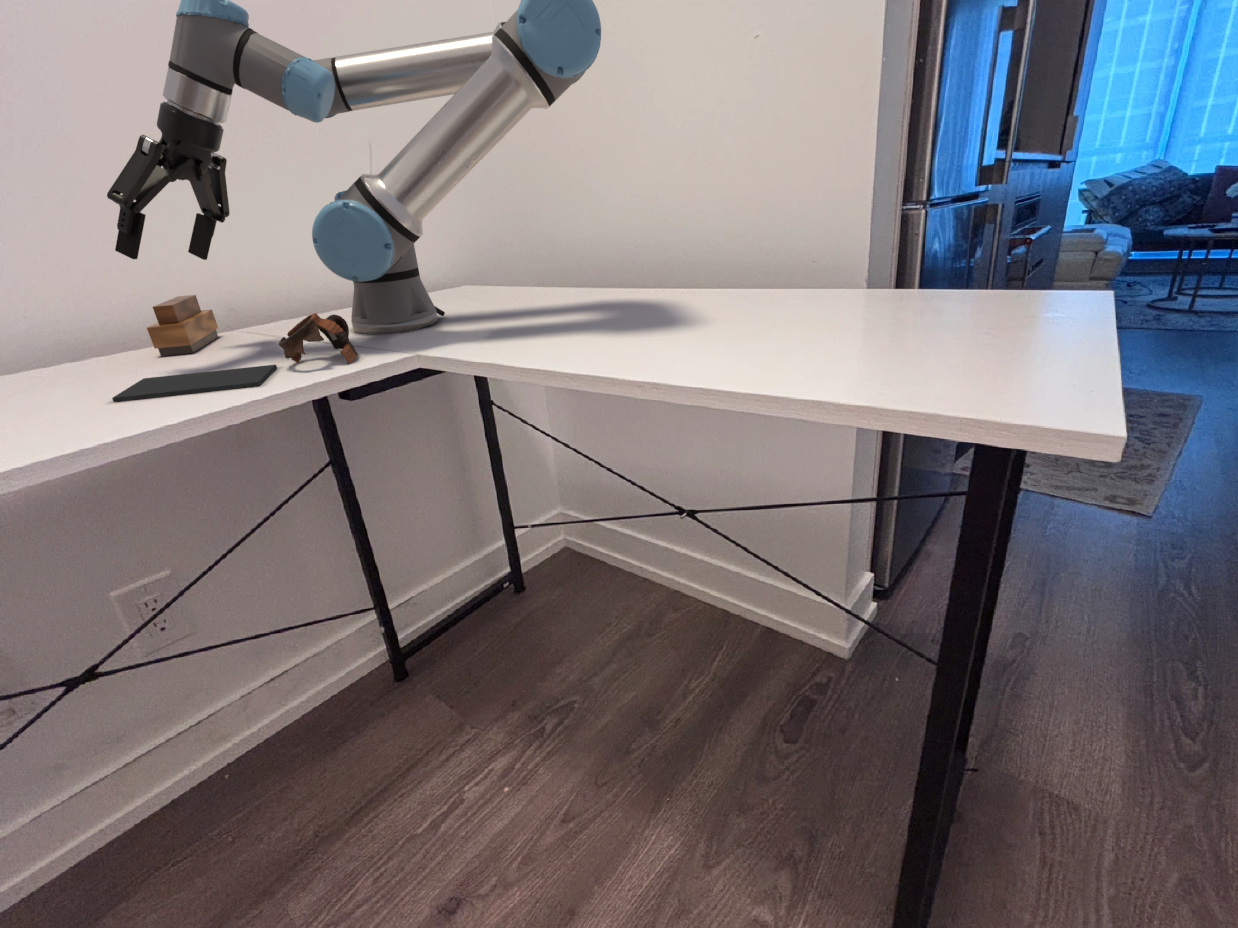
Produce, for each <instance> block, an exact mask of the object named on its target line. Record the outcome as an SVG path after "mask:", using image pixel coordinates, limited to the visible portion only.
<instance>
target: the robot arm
mask: <svg viewBox="0 0 1238 928" xmlns="http://www.w3.org/2000/svg"><path fill="white" fill-rule="evenodd" d="M597 8H598V7H596V4H595V3H594V0H520V3H519V5H518V8H517V9H516V11H515V12H514V13H513V14H512V15H511V16H510V17H509V18H508V19H507V20H506V21H502V22H498V23H497V24H496V26H495V28H494V30H493V31H488V32H483V33H476V34H469V35H464V36H457V37H451V38H445V39H439V40H432V41H426V42H419V43H414V44H408V45H400V46H394V47H389V48H382V49H374V50H370V51H363V52H358V53H351V54H345V55H337V56H334V57H325V58H320V59H319V58H318V59H311V58H309V57H307V56H304V55H302V54H300V53H298V52H296V51H295V50H292V49H290V48H288V47H287V46H285V45H282V44H280V43H278V42H277V41H275V40H272V39H270V38H269V37H267V36H264V35H262V34H260V33H259V32H257V31H255V30H254V29H253V28H252V27H250V24H249V20H250V19H249V18H250V16H249V12H248V11H247V9H245V8H244V7H242V6H240V5H239V4H237V3H235V2H233V1H232V0H180V1H179V5H178V10H177V11H176V12H175V17H176V18H175V25H174V30H173V38H172V43H171V49H170V55H169V61H168V65H167V66H168V68H167V72H166V76H165V83H164V87H163V92H162V96H163V98H164V99H166V100H167V101H162V102H160V104H159V109H158V115H157V121H156V127H157V129H158V130H160V132H161V137H160V139H159V140H158V141H157V140H155V139H154V138H151V137H149V136H147V135H145V134H141V135H139V138H138V139H137V144H136V147H135V150H134V152H133V153H132V155H131V156H130V158H129V160H128V161H127V162H126V164H125V166H124V167H123V168H122V170H121V172H120V173H119V175H118V176H117V178H116V179H115V181H114V182H113V184H112V186H110V188H109V190H108V191H107V193H106V197H107V199H109V200H110V201H112V202H113V203H115V204H117V205H118V206H119V213H118V219H117V223H116V227H117V230H118V231H117V237H116V244H115V249H114V251H115V252H117V253H119V254H121V255H122V256H126V257H128V258H129V259H131V260H138V257H139V252H140V248H141V247H140V246H141V242H142V237H143V233H144V228H145V227H144V226H145V221H146V214H145V213H143V212H142V211H143V210H144V209H145V208H146V207H147V206H148V205H149V204H150V203H151V202H152V201H153V200H154V199H155V198H156V197H157V195H159V193H160V192H162V191H163V189H164V188H165V187H166V186H167V185H169V183H174V182H177V180H179V181H186V180H187V181H188V182H189V183H190V186H191V189H192V191H193V194H194V197H195V198H196V201H197V204H198V206H199V209H200V211H201V213H199V212H196V215H195V218H194V223H193V229H192V231H191V237H190V241H189V246H188V250H187V253H189V254H191V255H193V256H194V257H197V258H198V259H201V260H202V261H207V260H208V256H209V252H210V247H211V245H212V244H211V243H212V239H213V237H214V235H215V231H216V226H217V223H218V222H219V223H225V222H226V218H228V217H229V216H230V204H229V196H228V187H227V186H228V185H227V177H226V168H227V162H228V161H227V158H226V157H224V156H222V155H220V154H218V153H217V152H219V151H220V148H221V145H222V140H223V135H224V131H225V130H224V128H223V126H222V125H221V124H225V123H227V120H228V115H229V110H230V105H231V100H232V96H233V92H234V91H233V90H234V86H235V85H237V87H239V88H241V89H242V90H243V89H244V90H247V91H249V92H251V93H253V94H255V95H257V96H258V97H260V98H262V99H264V100H265V101H268V102H270V103H272V104H274V105H276V106H278V107H280V108H282V109H284V110H286V111H287V112H290V114H292V115H294V116H297V117H300V118H303V119H305V120H308V121H310V122H313V123H321V122H323V121H324V119H330V118H333V117H335V116H337V115H338V114H344V113H350V112H355V111H359V110H366V109H372V108H378V107H384V106H390V105H397V104H402V103H410V102H416V101H422V100H427V99H434V98H435V99H436V98H440V97H447V96H451V97H450V99H448V100H447V101H446V103H444V105H443V106H442V107H440V108H439V110H438V111H437V112H436V113H435V114H434V115H433V116H432V117H431V118H430V119H429V120H428V121H427V122H426V123H425V124H424V126H423V127H422V128H421V129H420V130H419V131H418V132H417V133H416V134H415V135H414V136H413V137H412V138H411V139H410V140H409V141H408V142H407V143H406V145H404V147H402V149H401V150H400V151H399V152H397V154H396V155H395V156H394V157H393V158H392V159H391V160H390V162H389V163H387V165H385V166H384V168H383V169H382V170H381V171H380V172H379V173H377V174H373V173H372V174H370V173H369V174H368V173H367V174H366V173H362V174H360V176H359V177H358V178H357V179H356V181H354V182H353V183H352V184H351V185H350V186H349V187H348V188H347V189H346V190H343V191H339V192H337V193H335V195H334V201H331V202H329V203H328V204H325V205H324V206H323V207H322V208H321V209H320V211H319V212H318V213H317V214H316V216H315V219H314V221H313V224H312V228H311V238H312V244H313V247H314V250H315V252H316V255H317V256H318V258H319V259H320V261H321V263H322V264H323V265H324V266H325V267H326V268H327V269H328V270H329V271H330V272H332V273H333V274H334V275H336V276H338V277H339V278H342V279H344V280H347V281H351V282H353V283H352V284H353V295H352V296H353V297H352V306H351V318H350V321H351V325H352V329H353V331H354V332H356V333H358V334H365V335H383V334H385V335H386V334H395V333H402V332H409V331H414V330H418V329H419V330H420V329H422V328H427V327H428V326H431V325H434V324H436V323H437V322H438V321H439V317H438V315H439V316H441V317H444V316H445V314H446V311H444V310H442V309H440V308H439V307H438V306H436V305H435V304H434V303H433V301H432V298H431V296H430V295H429V293H428V291H427V289H426V288H425V286H424V283H423V282H422V279H421V275H420V270H419V264H418V258H417V254H416V248H415V247H416V246H415V243H416V242H417V241H418V240H419V239H420V238H421V237H422V236H423V234H424V233H423V221H424V219H425V218H426V217H427V216H428V215H429V214H430V213H431V212H432V211H433V210H434V209H435V208H436V207H437V206H438V204H440V203H441V202H442V200H444V199H445V198H446V197H447V196H448V194H449V193H451V192H452V190H453V189H455V188H456V186H458V184H459V183H460V182H461V181H463V179H464V178H466V177H467V175H468V174H469V173H470V172H471V171H472V170H473V169H474V168H475V167H476V166H477V165H478V164H479V163H480V162H481V161H482V160H483V159H484V158H485V157H486V156H487V155H488V154H489V153H490V152H491V151H492V150H493V149H494V148H495V147H496V146H497V145H498V144H499V143H500V142H501V141H502V140H503V139H504V138H505V137H506V136H507V135H508V134H509V133H510V132H511V131H512V130H513V129H514V128H515V127H516V126H517V124H519V122H520V121H522V120H523V118H525V117H526V115H528V113H530V111H531V110H533V109H543V110H547V109H549V108H550V107H551V106H552V105H553V104H554V103H555V102H556V101H557V100H558V99H559V98H560V97H561V96H562V95H563V94H564V93H565V92H566V91H567V90H568V89H569V88H570V87H571V86H572V85H574V84H576V83H577V82H578V81H579V80H581V78H582V77H583V76H584V75H585V74H586V72H587V71H588V70H589V69H590V67H592V66H593V64H594V63H595V61H596V59H597V57H598V54H599V52H600V48H601V41H602V24H601V18H600V14H599V11H598V9H597Z"/></svg>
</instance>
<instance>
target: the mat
mask: <svg viewBox="0 0 1238 928" xmlns="http://www.w3.org/2000/svg"><path fill="white" fill-rule="evenodd" d="M277 369H278V366H277V364H267V365H257V366H248V367H237V368H228V369H219V370H209V371H201V372H200V371H199V372H191V373H181V374H173V375H162V376H152V377H144V378H142V379H140V380H139V381H137V382H135V383H133V384H132V385H131V386H129V387H128V388H126V389H124V390H123V391H121V392H119V393H118V394H116V395H114V396H113V397H112V398H111V399H112V401H113V402H114V403H118V402H126V401H136V400H147V399H153V398H154V399H155V398H163V397H172V396H181V395H191V394H198V393H200V394H201V393H207V392H217V391H225V390H226V391H227V390H236V389H244V388H245V389H246V388H254V387H260V386H261V385H262V384H263V383H264V382H265V381H266V380H267V379H268V378H269V377H270V376H271V375H272V374H273V373H274V372H275V371H276V370H277Z"/></svg>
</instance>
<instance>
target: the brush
mask: <svg viewBox="0 0 1238 928" xmlns="http://www.w3.org/2000/svg"><path fill="white" fill-rule="evenodd" d="M152 310H153V312H154V314H155V318H156V321H157V322H156V323H154V324H152V325H150V326H148V327H146V330H147V332H148V335H149V338H150V340H151V344H152V346H153V348H154V350H156V349H158V352H159V355H160V357H170V356H180V355H190V354H191V355H192V354H194V353H196V352H198V351H200V350H201V349H203V347H205V346H207V345H209V344H210V343H212V342H213V341H215V340H217V339H218V338H219V334H218V331H217V330H218V329H219V326H218V323H217V320H216V318H215V314H214V311H213V309H203V310H201V306H200V304H199V301H198V298H197V294H190V295H177V296H175V297H173V298H171V299H168V300H165V301H163V302H161V303H158V304H156V305H153V306H152Z"/></svg>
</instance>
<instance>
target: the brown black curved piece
mask: <svg viewBox="0 0 1238 928" xmlns="http://www.w3.org/2000/svg"><path fill="white" fill-rule="evenodd" d="M321 333H322V334H323V335H324V336H325V337H326V339H327V340H328V341H329V342H330V344H331V345H332V347H333V349H334V350H340V352H339V353H340V354H341V355H342V356H343V357H344V358H345V361H346V362H347V364H352V363H353V362H354V361H355V360H356V358H357V357H358V355H359V353H358V351H357V350H356V348H355V346H354V345H353V343H352V342H351V340H350V338H349V336H350V328H349V324H348V322H347V321H346V320H345V319H344V317H342V316H340V315H339V314H330V315H328V316H327V317H325V318H322V317H320V315H318V313H317V312H314V313H311V314H309V315H307V316H306V317H305V318H303V319H302V320H301V321H300V322H298V323H297V324H296V325H295V326H293V327H292V328H291V329H290V330H288V332H287V334H286V335H287V336H288V337H285V336H283V337H282V338H280V340H279V341H278V343H277V346H278V347H280V348H281V349H283V356H284V358H285V359H287V360H289V359H291V361H294V362H295V363H297V364H298V363H300V361H301V359H302V355H305V354H306V352H305V347H304V341H305V342H308V343H313V342H322V341H324V340H325V338H324V337H323V335H322V334H321Z"/></svg>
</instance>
